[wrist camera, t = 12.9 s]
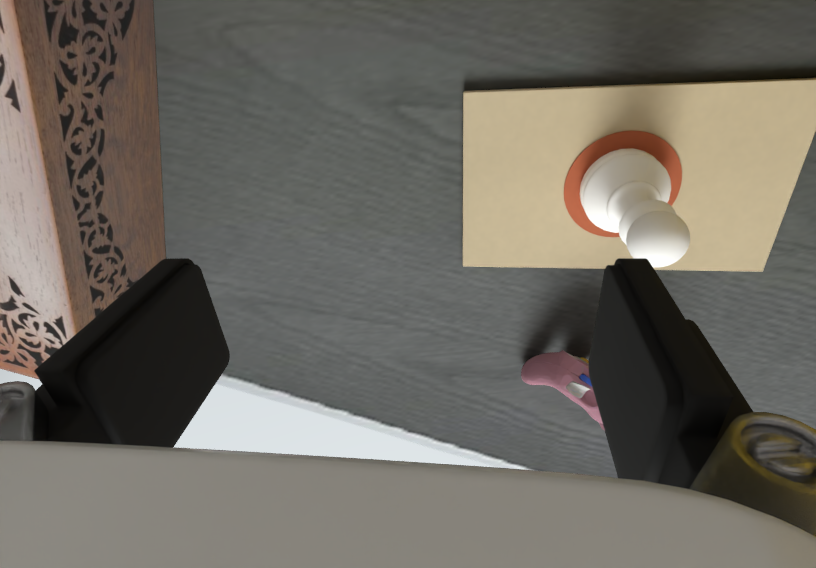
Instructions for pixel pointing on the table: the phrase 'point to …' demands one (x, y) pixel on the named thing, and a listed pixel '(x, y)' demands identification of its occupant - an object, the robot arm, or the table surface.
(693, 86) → the mat
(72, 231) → the tissue box cover
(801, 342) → the table surface
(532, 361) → the video game controller
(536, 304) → the table surface
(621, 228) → the chess pawn
